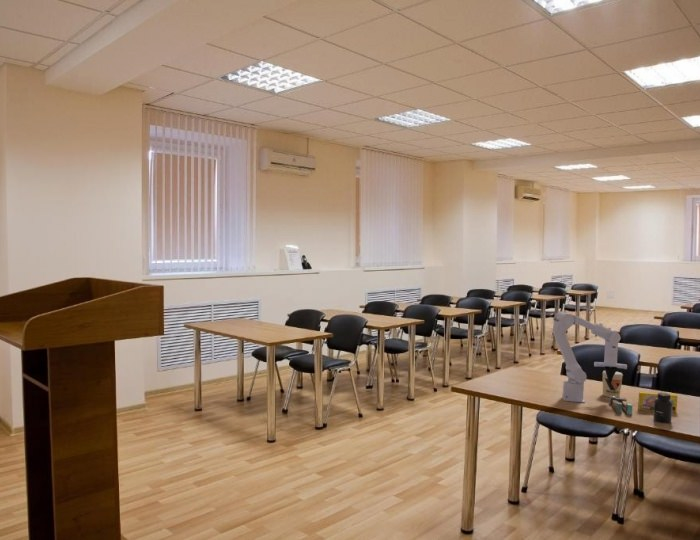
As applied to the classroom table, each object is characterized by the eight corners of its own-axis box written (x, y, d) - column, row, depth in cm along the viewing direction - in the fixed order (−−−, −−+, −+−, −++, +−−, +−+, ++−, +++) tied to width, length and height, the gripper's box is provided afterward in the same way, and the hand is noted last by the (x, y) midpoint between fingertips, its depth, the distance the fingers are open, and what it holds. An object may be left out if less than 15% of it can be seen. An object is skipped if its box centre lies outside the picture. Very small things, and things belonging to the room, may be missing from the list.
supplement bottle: (654, 422, 235) (656, 394, 234) (652, 417, 241) (653, 391, 241) (672, 424, 232) (674, 396, 232) (669, 420, 239) (671, 393, 238)
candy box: (639, 410, 253) (640, 392, 252) (637, 409, 255) (638, 391, 254) (676, 413, 250) (677, 395, 250) (674, 411, 252) (675, 394, 252)
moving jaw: (616, 413, 246) (617, 403, 246) (612, 406, 258) (612, 396, 258) (621, 413, 246) (622, 404, 245) (616, 406, 258) (617, 397, 257)
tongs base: (616, 413, 246) (616, 403, 246) (609, 403, 263) (609, 394, 263) (633, 415, 244) (633, 405, 244) (625, 404, 261) (625, 395, 261)
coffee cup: (602, 396, 274) (604, 373, 273) (599, 392, 283) (601, 369, 282) (622, 399, 271) (624, 375, 271) (619, 394, 280) (620, 371, 280)
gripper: (596, 354, 264) (594, 382, 265) (628, 357, 260) (627, 385, 261) (593, 352, 271) (592, 379, 272) (625, 354, 267) (624, 381, 268)
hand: (609, 382), depth 267 cm, fingers closed
